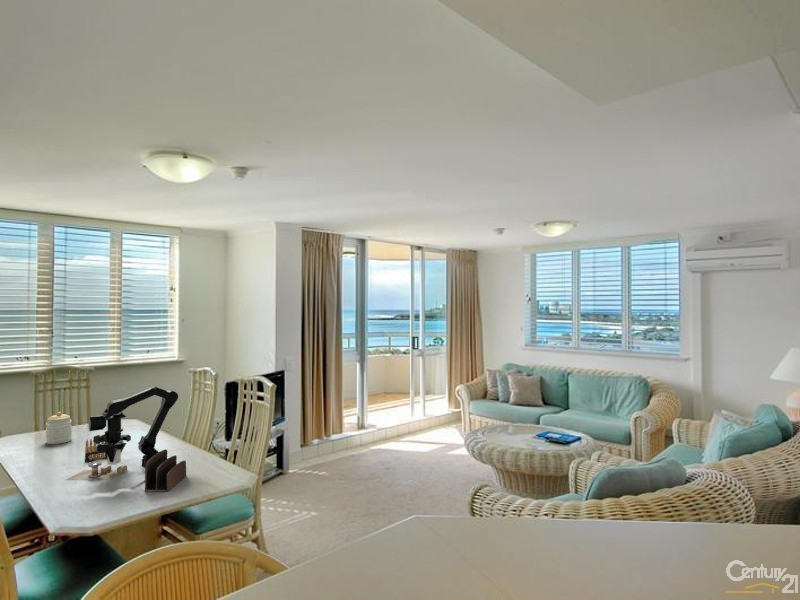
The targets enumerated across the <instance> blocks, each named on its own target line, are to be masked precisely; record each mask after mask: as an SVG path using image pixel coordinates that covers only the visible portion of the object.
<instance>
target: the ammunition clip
mask: <svg viewBox="0 0 800 600" xmlns="http://www.w3.org/2000/svg"><path fill="white" fill-rule="evenodd" d="M101 443H108V442H104V441H103V442H101ZM101 443H99V444H101ZM99 444H96V443H94V442H93V440H92V438H90V440H88V439H86V441H85V447H84V463H88V464H90V463H89V462H91V463H94V462H95V461H97V460H107V453H106V452H105V451H97V446H98V445H99Z"/></svg>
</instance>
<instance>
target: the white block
mask: <svg viewBox="0 0 800 600" xmlns="http://www.w3.org/2000/svg"><path fill="white" fill-rule="evenodd" d="M121 455H122V452H121V449H117V451H116V454H115V458H114V461H113V462H110V460H109V458H108V455H107V459H106V461H107V464H106V465H111V466H113V465H115V466H116V465H118V464H119V463H121V462H122V457H121Z"/></svg>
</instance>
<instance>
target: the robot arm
mask: <svg viewBox="0 0 800 600" xmlns="http://www.w3.org/2000/svg"><path fill="white" fill-rule="evenodd" d="M154 396H156V397H159V398H161V401H160V408H159V409H158V411H157V413H156V415H155V417H154V420H153V421H152V424H151V426H150V428H149V430H148V431H147V433H146V435H145V436H143V435H141V438H140V440H139V442H138V447H137V448H138V450H139V451H140V453H142V454H143V456H142V459H141V466H142V467H145V468H146V462H147V461H148V460H149V459H150V458H151V457H153V456H154V455H155V454H157V453H158V452H159V451H158V449H156V448H155V447H156V441H157V436H158V434H159V432H160V431H161V428H162V426H163V424H164V422H165V420H166V417H167V415H168V413H169V411H170V410H171V409H172V408H173V407H174V406H175V404H176V402H177V401H178V399H179V394H178V393H177V392H176V391H174V390H173V389H167V390H165V389H163V388H159V387H157V386H151V387H149V388H147V389H145V390H142V391H140V392H136V393H135V394H132V395H129V396H127V397H123V398H120V399H119V398H118V399H114V400H110V401H109V402H108V403H107V404H106V408H105V409H104V411H103V412H102V413H101V415H91V416H89V419H88V432H95V431H102V430H105V428H107V430H105V431H104V434H102V435H100V434H97V435H93V440H92V443H93V444H94V443H96V445H97V444H99V443H100V444H99V445H98V446H97V451H105V452H106V453H107V455H108V458H109V460H110V462H113V461H114V458H115V454H116V451H117V449H121V453H122V452H123V451H124V448H125V447H126V445H127V442H130V441H132V436H131V435H130V434H122V432H123V431H124V428H122V419H123V418H127V416H126V415H125V414H124V413H123V411H125V410H126V409H127V408H129V407H130V406H132V405H134V404H137V403H140V402H141V401H143V400H146V399H148V398H151V397H154ZM103 441H104V443H101V442H103ZM124 441H125V442H124ZM105 442H108V443H105Z"/></svg>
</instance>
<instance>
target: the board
mask: <svg viewBox="0 0 800 600" xmlns="http://www.w3.org/2000/svg"><path fill="white" fill-rule="evenodd" d="M98 473H101V469H98ZM90 474H92V469H83V470H82V471H80V472H77V473H75V474H73V475H71V476H70V477H67V478H66V479H65V481H111V480H113V479H115V478H116V477H118V476H120V475H121V474H117V469H111V471H109V472H107V473H105V474H101V476H99V477H95V478H89V477H88V475H90Z"/></svg>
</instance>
